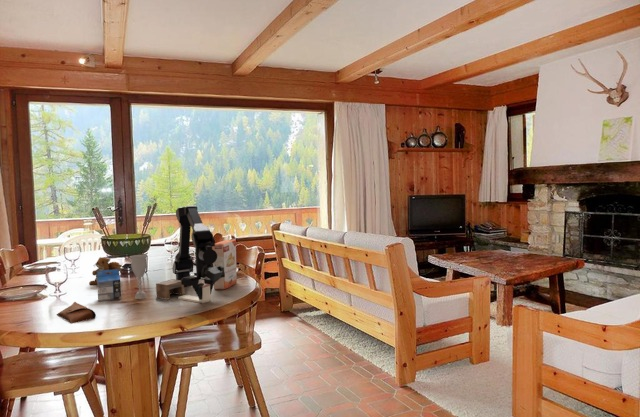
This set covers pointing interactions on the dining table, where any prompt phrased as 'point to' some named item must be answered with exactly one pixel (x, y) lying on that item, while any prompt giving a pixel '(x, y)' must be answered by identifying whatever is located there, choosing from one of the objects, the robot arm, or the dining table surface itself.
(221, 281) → the cracker box
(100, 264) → the stuffed squirrel
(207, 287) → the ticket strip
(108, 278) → the label tape cartridge
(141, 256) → the chalice
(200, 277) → the robot arm
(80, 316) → the sunglasses case
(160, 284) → the box
